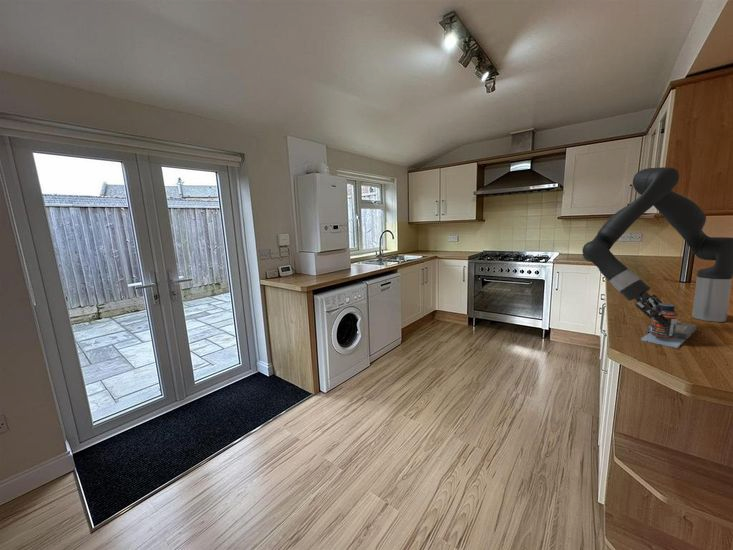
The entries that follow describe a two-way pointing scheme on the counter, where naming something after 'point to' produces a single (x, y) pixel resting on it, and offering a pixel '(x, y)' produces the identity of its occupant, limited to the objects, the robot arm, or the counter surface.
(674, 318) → the supplement bottle
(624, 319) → the counter surface
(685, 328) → the grey c-shaped bracket
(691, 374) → the counter surface
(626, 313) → the counter surface
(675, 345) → the coaster
